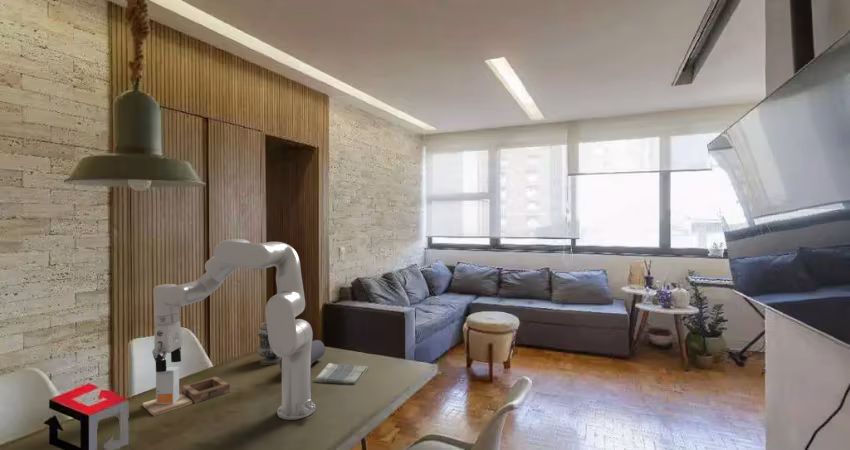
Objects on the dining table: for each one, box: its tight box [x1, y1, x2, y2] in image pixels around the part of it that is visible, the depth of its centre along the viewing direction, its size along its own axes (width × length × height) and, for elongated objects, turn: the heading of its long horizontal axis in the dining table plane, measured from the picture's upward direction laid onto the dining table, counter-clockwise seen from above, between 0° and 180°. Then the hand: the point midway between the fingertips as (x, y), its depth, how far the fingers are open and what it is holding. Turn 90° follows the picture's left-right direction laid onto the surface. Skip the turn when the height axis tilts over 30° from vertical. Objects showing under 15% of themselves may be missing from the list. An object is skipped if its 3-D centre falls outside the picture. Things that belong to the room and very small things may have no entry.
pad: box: [142, 391, 193, 417], centre depth 146 cm, size 12×12×1 cm
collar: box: [181, 376, 231, 404], centre depth 155 cm, size 13×13×3 cm
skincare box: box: [155, 366, 180, 404], centre depth 145 cm, size 6×4×12 cm
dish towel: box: [314, 362, 369, 386], centre depth 173 cm, size 19×18×3 cm
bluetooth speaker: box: [279, 339, 326, 371], centre depth 181 cm, size 23×9×10 cm, turn 162°
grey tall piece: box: [256, 321, 282, 366], centre depth 190 cm, size 12×12×18 cm
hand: (168, 366), depth 145 cm, fingers open, 9 cm apart
